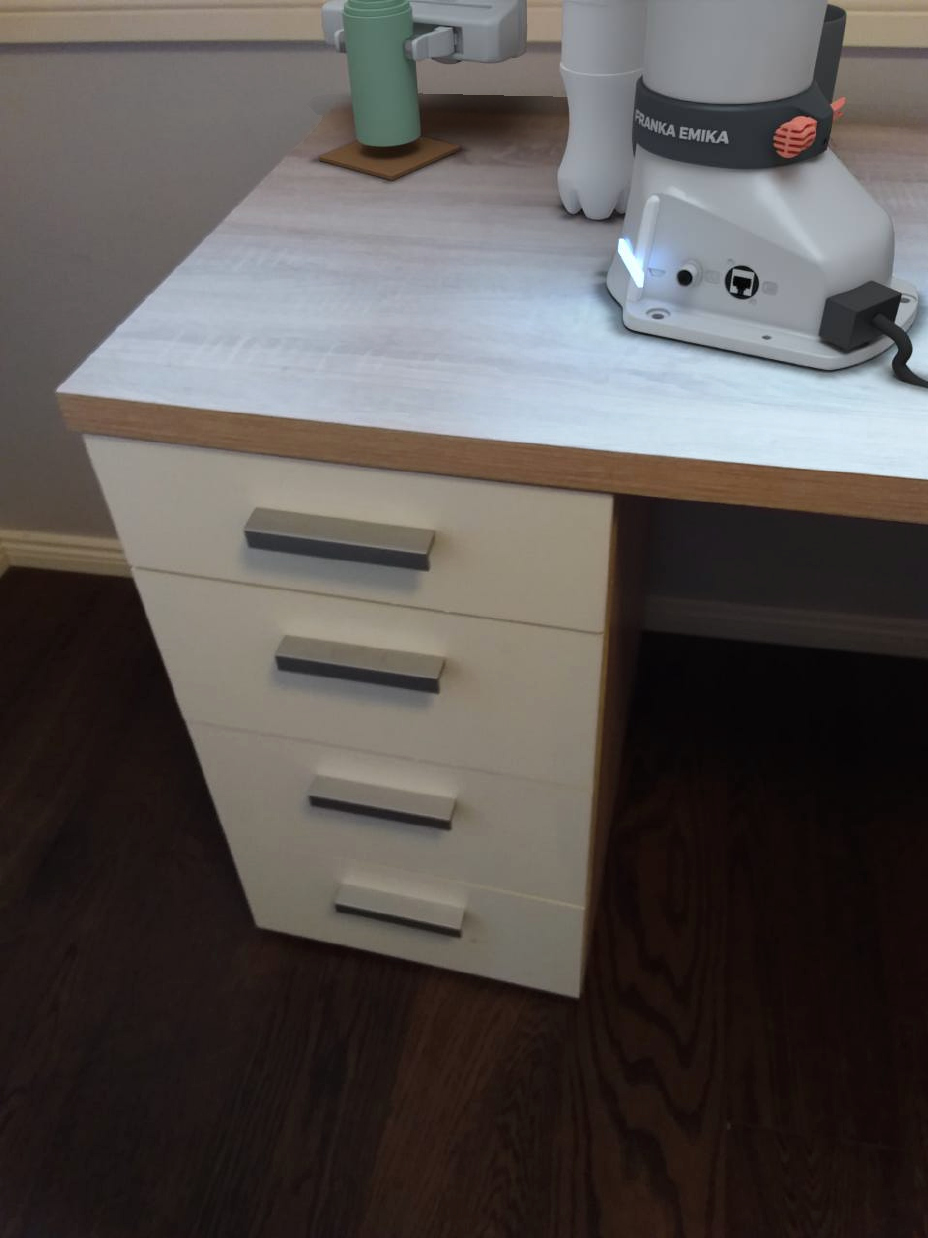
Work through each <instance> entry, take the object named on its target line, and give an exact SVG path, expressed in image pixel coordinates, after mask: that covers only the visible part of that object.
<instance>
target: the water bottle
mask: <svg viewBox="0 0 928 1238" xmlns="http://www.w3.org/2000/svg"><path fill="white" fill-rule="evenodd" d="M561 1H562V2H561V48H560V49H561V50H560V52H561V54H560V56H561V57H560V61H559V64H558V65H559V68H558V70H559V74H560V77H561V79H562V83H563V86H564V89H565V92H566V93H565V94H566V98H567V104H568V119H569V123H568V124H569V126H568V135H567V136H568V137H567V141H566V146H565V151H564V153H563V156H562V160H561V163H560V165H559V167H558V170H557V173H556V174H557V175H556V177H557V187H558V193H559V196H560V200H561V202H562V204H563V206H564V208H565V210H566V211H567V212H568V213H569V214H573V215H575V214H577V213H579V212H580V211H581V210H582V211H583V213H584V214H585V217H586V218H588V219H590V220H594V221H595V220H597V221H599V220H605V219H608V218H609V217H610V216H611V215H612V213H613V211H614V210H615V211H616V212H617V213H619V214H620V215H621V214H626V210H627V204H628V199H629V194H630V188H631V182H632V175H633V168H634V161H635V158H634V155H633V148H632V125H633V111H634V101H635V91H636V83H637V80H638V79H639V77H641V76H642V75H643V67H644V53H645V39H646V24H647V10H648V0H561Z"/></svg>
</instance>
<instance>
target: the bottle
mask: <svg viewBox="0 0 928 1238" xmlns="http://www.w3.org/2000/svg"><path fill="white" fill-rule="evenodd" d="M342 17H343V26H344V35H345V44H346V53H345V54H346V59H347V60H346V61H347V69H348V70H347V71H348V78H349V86H350V87H349V88H350V95H351V96H350V97H351V105H352V114H353V123H354V133H355V139H356V141H359V142H360V143H362V144H365V145H369V146H378V147H387V146H397V145H402V144H406V143H409V142H412V141H414V140H416V139H417V138H418V137H419V136H420V137H421V135H422V129H421V113H420V102H419V88H418V75H417V73H418V72H417V61H409V60H406V59H405V57H404V52H405V50H404V48H403V43H404V40H405V39H406V38H409V37H410V36H412V35H414V30H413V16H412V6H411V5H410V4H409V0H348V1H347V2H345V3H344V9H343V10H342Z"/></svg>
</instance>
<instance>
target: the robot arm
mask: <svg viewBox="0 0 928 1238" xmlns="http://www.w3.org/2000/svg"><path fill="white" fill-rule="evenodd" d="M347 1H348V0H331V1H328V2H326V3H324V4H323V5H322V7H321V11H320V15H321V16H320V19H321V28H322V34H323V38H324V41H325V43H326V44H327V45H328V46H330V47H334V49H335V51H336V52H337V53H338V54H347V53H346V44H345V35H344V26H343V17H342V10H343V9H344V3H345V2H347ZM409 4H410V5H411V6H412V16H413V30H414V35H412V36H410V37H409V38H406V39H405V40H404V43H403V48H404V50H405V52H404V57H405V59H406V60H409V61H416V62H418V63H420V62H423V61H424V60H427V59H431V60H433V61H435V62H437V63H439V64H442V65H456V64H460V63H462V62H472V63H479V64H491V65H492V64H499V63H503V62H506V61H509V60H510V59H518V58H520V57H522V56H523V55H525V54H526V53H527V52H526V51H527V43H528V40H527V39H528V24H527V0H409ZM827 4H829V0H648V10H647V24H646V39H645V53H644V67H643V75H642V76H641V77H639V79H638V80H637V83H636V91H635V101H634V111H633V125H632V148H633V155H634V158H635V161H634V168H633V175H632V182H631V188H630V194H629V199H628V204H627V210H626V213H625V215H624V219H623V222H622V223H623V224H622V229H621V231H620V236H619V238H618V243H617V246H616V250H615V253H614V256H613V259H612V262H611V265H610V267H609V269H608V272H607V275H606V287H607V289H608V291H609V293H610V295H611V296H612V297H613V298H614V299H615V300H616V302H618V303H619V305H620V307H621V308H622V321H623V324H624V326H625V327H626V328H628V329H629V330H632V331H636V332H638V333H639V332H640V333H644V334H648V335H653V336H657V337H663V338H668V339H674V340H677V341H678V340H679V341H683V342H687V343H692V344H698V345H703V346H707V347H712V348H716V349H720V350H726V351H731V352H736V353H741V354H745V355H751V356H756V357H760V358H765V359H770V360H775V361H780V362H783V363H789V364H795V365H799V366H804V367H810V368H814V369H817V370H818V369H820V370H826V371H830V370H831V371H833V370H834V371H835V370H838V369H844V368H847V367H852V366H855V365H858V364H862V363H863V362H866V361H868V360H870V359H872V358H874V357H877V356H878V355H880V354H881V353H883V352H884V351H886V350H887V349H889V348H891V347H892V346H893V345H894V344H895V345H896V348H897V351H896V354H895V355H894V357H893V358H892V361H891V368H892V370H893V373H894V374H895V375H896V376H897V378H898V379H899V380H900V381H901V382H903V383H905V384H908V385H911V386H915V387H920V388H924V389H928V380H925V379H924V378H923V377H920V376H918V375H917V374H916V373H914V371H912V369H911V368H910V367H909V366H908V364H907V363H908V361H909V360H910V358H911V357H912V355H913V350H914V346H913V343H912V340H911V338H910V336H909V335H908V334H907V331H909V329H910V328H911V326H912V324H913V323H914V322H915V319H916V317H917V313H918V307H919V301H920V300H919V293H918V290H917V288H916V286H915V285H914V284H913V283H912V282H909V281H907V280H904V279H901V278H899V277H896V276H893V273H894V272H893V271H894V264H895V263H894V260H895V248H896V246H895V245H896V243H895V242H896V241H895V228H894V223H893V219H892V218H891V215H890V214H889V212H888V211H887V210H886V208H884V207H883V206H882V205H881V204H880V203H879V202H878V201H877V200H876V199H875V198H874V197H873V195H872V194H871V193H870V192H869V191H868V190H867V189H866V187H864V185H862V183H860V181H859V180H858V179H857V178H856V176H854V175H853V173H852V172H851V171H850V170H849V169H848V167H847V166H845V164H844V163H843V162H842V161H841V160H840V158H839V157H838V156H837V155H836V154H835V153H834V151H832V149H831V148H830V147H829V144H830V143H829V142H830V138H831V134H832V129H833V128H832V127H833V122H834V121H836V120H837V119H839V118H841V117H842V116H843V115H844V113H845V111H843V110H842V111H841V109H843V107H844V106H845V104H846V102H847V97H846V96H842V97H840V98H838V99H836V100H835V101H834V102H832V104H829V103H828V101H827V100H826V98H825V97H824V95H823V94H822V92H821V91H820V89H819V87H818V84H817V82H816V80H815V79H814V77H813V75H814V69H815V63H816V58H817V53H818V47H819V42H820V37H821V32H822V27H823V22H824V17H825V13H826V8H827Z"/></svg>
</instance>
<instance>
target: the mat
mask: <svg viewBox="0 0 928 1238" xmlns="http://www.w3.org/2000/svg"><path fill="white" fill-rule="evenodd" d="M459 151H461V146H460V145H457V144H453V143H449V142H444V141H441V140H436V139H431V138H428V137H424V136H421V135H420V136H419V137H418V138H417V139H416V140H414V141H412V142H409V143H406V144H402V145H397V146H387V147H378V146H369V145H365V144H362V143H360V142H359V141H357V140H356V141H353V142H351V143H348V144H346V145H343V146H342V147H339V148H336V149H334V150H331V151H329V152H327V153H323V154H321V155H319V156H318V160H319V161H321V162H324V163H328V164H330V165H331V164H332V165H334V166H338V167H342V168H346V169H349V170H353V171H356V172H361V173H365V174H368V175H372V176H374V177H379V178H381V179H386V180H389V181H395V180H396V179H399V178H401V177H403V176H405V175H408V174H410V173H412V172H415V171H417V170H418V169H421V168H424V167H425V166H428V165H430V164H433V163H435V162H437V161H439V160H441V159H444V158H445V157H448V156H450V155H452V154H453V155H454V154H455V153H458V152H459Z"/></svg>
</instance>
